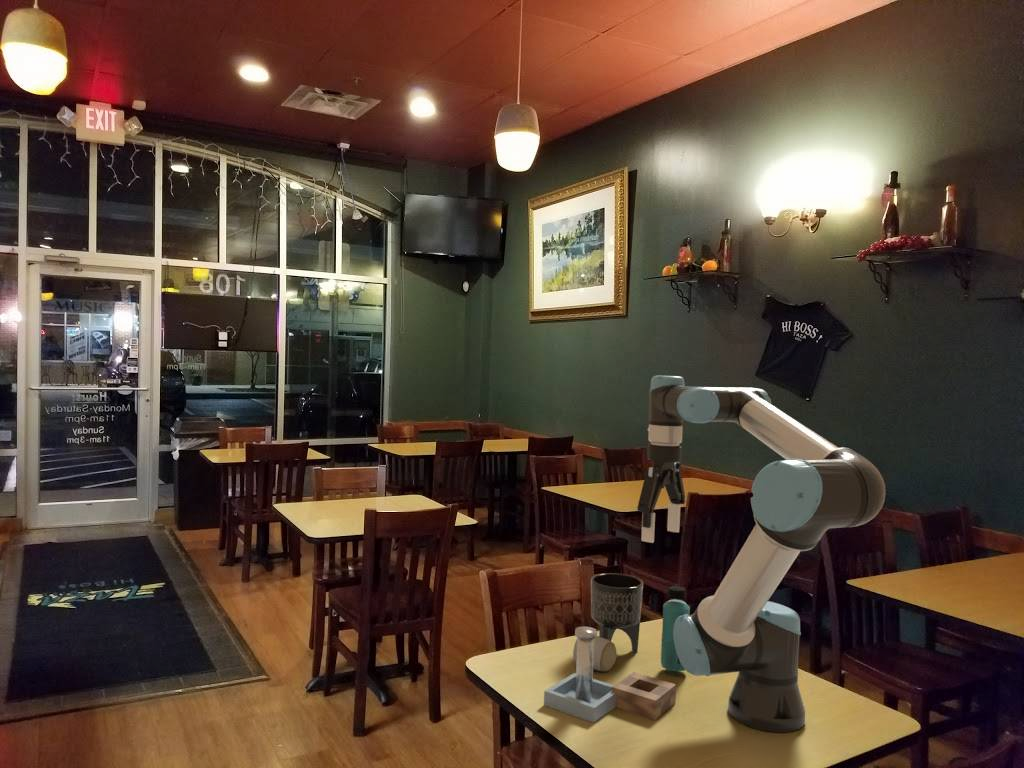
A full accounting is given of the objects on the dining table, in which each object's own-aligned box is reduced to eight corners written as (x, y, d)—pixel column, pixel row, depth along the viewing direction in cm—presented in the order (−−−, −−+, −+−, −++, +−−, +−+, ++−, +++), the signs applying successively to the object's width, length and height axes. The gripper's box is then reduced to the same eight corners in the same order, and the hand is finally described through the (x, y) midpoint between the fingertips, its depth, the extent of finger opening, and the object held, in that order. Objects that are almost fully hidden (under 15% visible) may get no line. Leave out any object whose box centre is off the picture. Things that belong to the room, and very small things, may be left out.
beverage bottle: (676, 680, 175) (680, 593, 174) (653, 670, 180) (657, 586, 179) (694, 673, 179) (697, 588, 178) (671, 664, 184) (674, 581, 183)
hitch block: (675, 703, 163) (676, 684, 163) (654, 720, 155) (655, 700, 155) (633, 689, 169) (633, 671, 169) (611, 705, 161) (611, 686, 161)
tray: (622, 702, 163) (622, 688, 162) (593, 722, 153) (594, 708, 153) (573, 686, 170) (574, 672, 169) (543, 705, 160) (544, 690, 160)
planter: (627, 665, 182) (630, 591, 182) (579, 652, 189) (582, 581, 189) (648, 648, 193) (651, 579, 193) (601, 637, 200) (604, 570, 200)
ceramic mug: (602, 677, 175) (603, 644, 175) (571, 667, 180) (573, 635, 180) (624, 664, 183) (625, 632, 183) (594, 655, 188) (596, 624, 188)
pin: (598, 700, 162) (601, 630, 161) (587, 707, 158) (590, 636, 157) (579, 693, 164) (582, 625, 164) (568, 701, 161) (571, 630, 160)
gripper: (672, 438, 186) (668, 525, 187) (624, 446, 166) (620, 543, 166) (701, 441, 182) (697, 530, 182) (656, 449, 161) (651, 549, 162)
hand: (660, 536), depth 174 cm, fingers open, 13 cm apart
